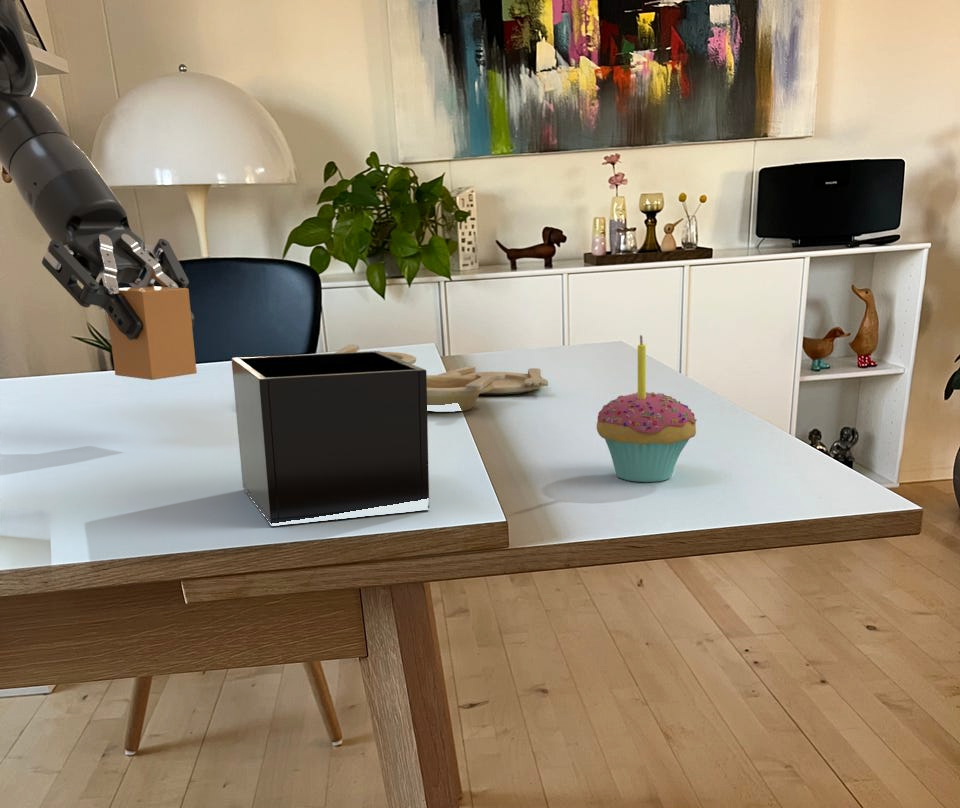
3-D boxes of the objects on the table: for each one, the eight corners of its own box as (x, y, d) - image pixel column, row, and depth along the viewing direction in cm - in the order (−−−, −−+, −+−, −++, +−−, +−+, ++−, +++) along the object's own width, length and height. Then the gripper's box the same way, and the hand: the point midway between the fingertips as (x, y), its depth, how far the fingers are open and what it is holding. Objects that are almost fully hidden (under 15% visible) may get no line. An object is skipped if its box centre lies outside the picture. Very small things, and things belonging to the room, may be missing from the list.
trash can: (271, 527, 76) (259, 379, 72) (242, 489, 87) (231, 358, 82) (429, 511, 80) (426, 369, 76) (384, 476, 91) (379, 350, 87)
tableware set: (221, 407, 123) (218, 371, 121) (326, 372, 149) (325, 343, 147) (509, 423, 113) (509, 385, 112) (567, 383, 139) (568, 352, 138)
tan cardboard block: (152, 380, 99) (141, 291, 96) (114, 375, 102) (104, 289, 99) (197, 373, 103) (188, 288, 100) (160, 369, 106) (150, 286, 103)
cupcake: (672, 492, 85) (682, 340, 81) (577, 480, 89) (582, 335, 85) (704, 471, 92) (716, 330, 88) (615, 460, 96) (621, 325, 91)
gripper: (13, 162, 94) (116, 308, 92) (142, 169, 105) (236, 299, 103) (-11, 226, 98) (86, 365, 97) (115, 225, 110) (205, 350, 108)
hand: (163, 330), depth 100 cm, fingers closed on tan cardboard block, 5 cm apart
